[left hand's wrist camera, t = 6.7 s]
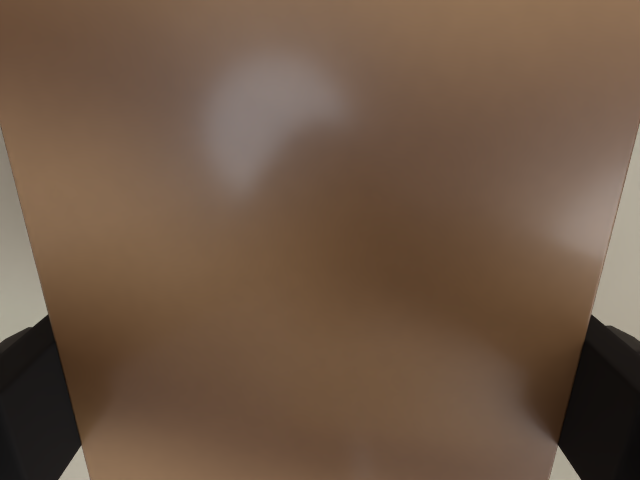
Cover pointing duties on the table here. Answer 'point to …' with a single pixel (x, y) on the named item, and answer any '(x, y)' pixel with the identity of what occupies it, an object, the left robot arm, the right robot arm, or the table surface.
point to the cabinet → (319, 225)
